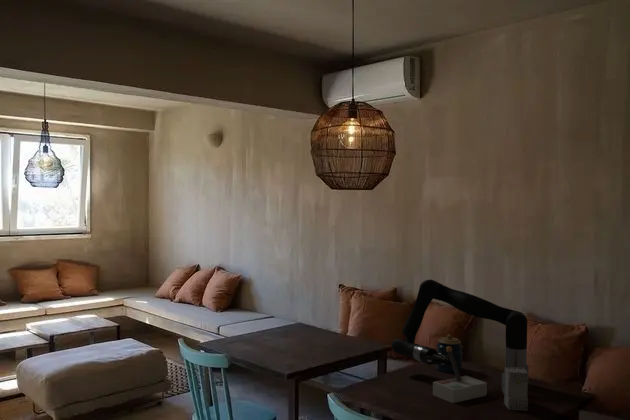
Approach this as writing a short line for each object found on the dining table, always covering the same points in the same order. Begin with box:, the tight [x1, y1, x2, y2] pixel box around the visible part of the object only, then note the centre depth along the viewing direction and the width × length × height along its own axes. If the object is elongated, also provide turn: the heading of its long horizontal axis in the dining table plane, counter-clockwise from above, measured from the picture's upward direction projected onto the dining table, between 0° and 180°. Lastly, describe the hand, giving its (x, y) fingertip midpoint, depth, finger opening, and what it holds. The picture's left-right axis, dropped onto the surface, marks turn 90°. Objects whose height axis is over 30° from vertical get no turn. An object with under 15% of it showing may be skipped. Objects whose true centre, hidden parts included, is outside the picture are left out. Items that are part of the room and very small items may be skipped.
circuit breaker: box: [501, 366, 529, 411], centre depth 237 cm, size 8×14×15 cm, turn 174°
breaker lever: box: [446, 346, 462, 382], centre depth 250 cm, size 3×3×15 cm
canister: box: [435, 333, 464, 374], centre depth 286 cm, size 13×13×18 cm
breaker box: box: [432, 375, 488, 404], centre depth 247 cm, size 20×12×6 cm, turn 121°
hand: (452, 363), depth 251 cm, fingers closed
